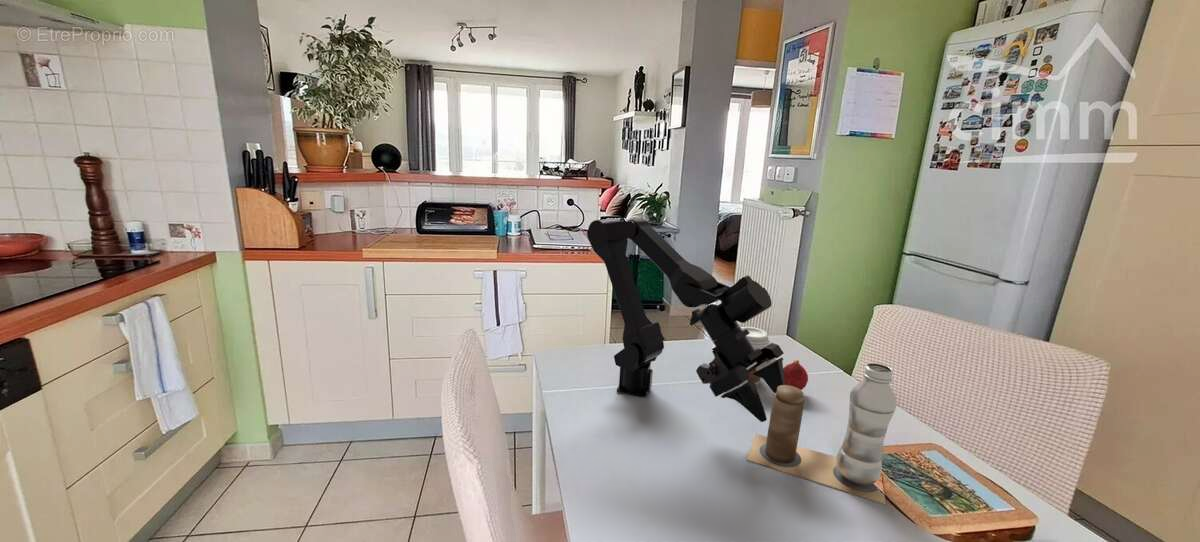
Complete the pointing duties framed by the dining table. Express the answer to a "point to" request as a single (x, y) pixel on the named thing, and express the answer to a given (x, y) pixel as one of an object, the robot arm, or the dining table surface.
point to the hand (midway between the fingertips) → (775, 411)
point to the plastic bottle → (867, 426)
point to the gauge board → (813, 469)
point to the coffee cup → (756, 345)
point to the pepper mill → (784, 424)
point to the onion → (795, 375)
